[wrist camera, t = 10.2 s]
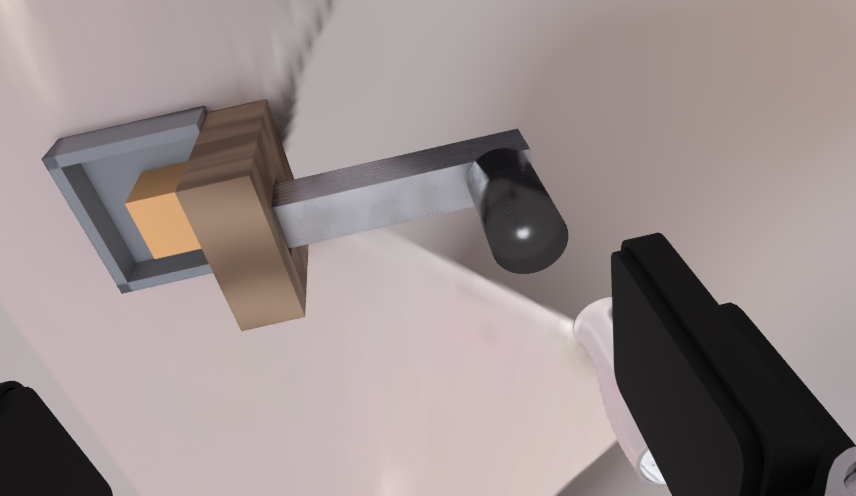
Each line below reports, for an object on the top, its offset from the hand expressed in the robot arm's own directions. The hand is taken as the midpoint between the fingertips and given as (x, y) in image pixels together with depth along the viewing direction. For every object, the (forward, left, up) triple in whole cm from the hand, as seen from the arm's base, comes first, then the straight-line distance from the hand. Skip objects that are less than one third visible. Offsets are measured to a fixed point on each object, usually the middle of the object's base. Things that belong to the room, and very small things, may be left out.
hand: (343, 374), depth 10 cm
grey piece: (+12, 0, -29) cm, 31 cm away
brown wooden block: (+12, -8, -34) cm, 37 cm away
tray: (+12, -15, -34) cm, 40 cm away
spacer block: (+12, -12, -32) cm, 36 cm away
